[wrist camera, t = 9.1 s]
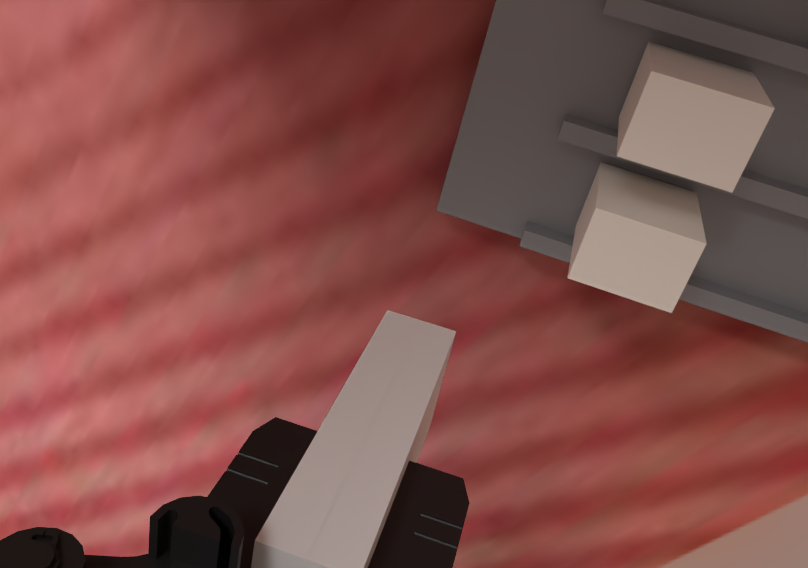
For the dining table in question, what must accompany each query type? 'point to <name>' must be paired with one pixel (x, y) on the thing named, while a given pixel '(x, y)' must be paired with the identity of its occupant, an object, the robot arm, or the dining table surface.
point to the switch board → (598, 135)
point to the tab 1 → (692, 117)
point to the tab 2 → (637, 238)
